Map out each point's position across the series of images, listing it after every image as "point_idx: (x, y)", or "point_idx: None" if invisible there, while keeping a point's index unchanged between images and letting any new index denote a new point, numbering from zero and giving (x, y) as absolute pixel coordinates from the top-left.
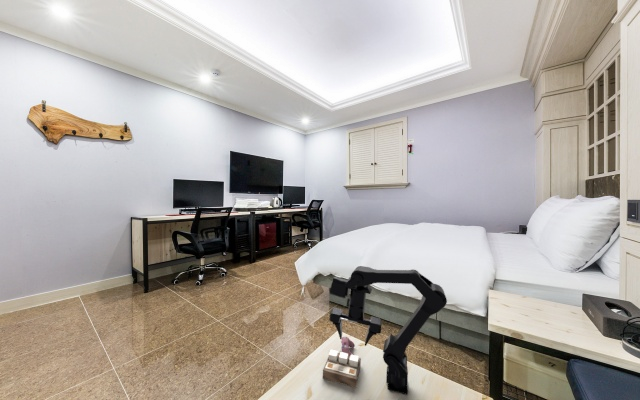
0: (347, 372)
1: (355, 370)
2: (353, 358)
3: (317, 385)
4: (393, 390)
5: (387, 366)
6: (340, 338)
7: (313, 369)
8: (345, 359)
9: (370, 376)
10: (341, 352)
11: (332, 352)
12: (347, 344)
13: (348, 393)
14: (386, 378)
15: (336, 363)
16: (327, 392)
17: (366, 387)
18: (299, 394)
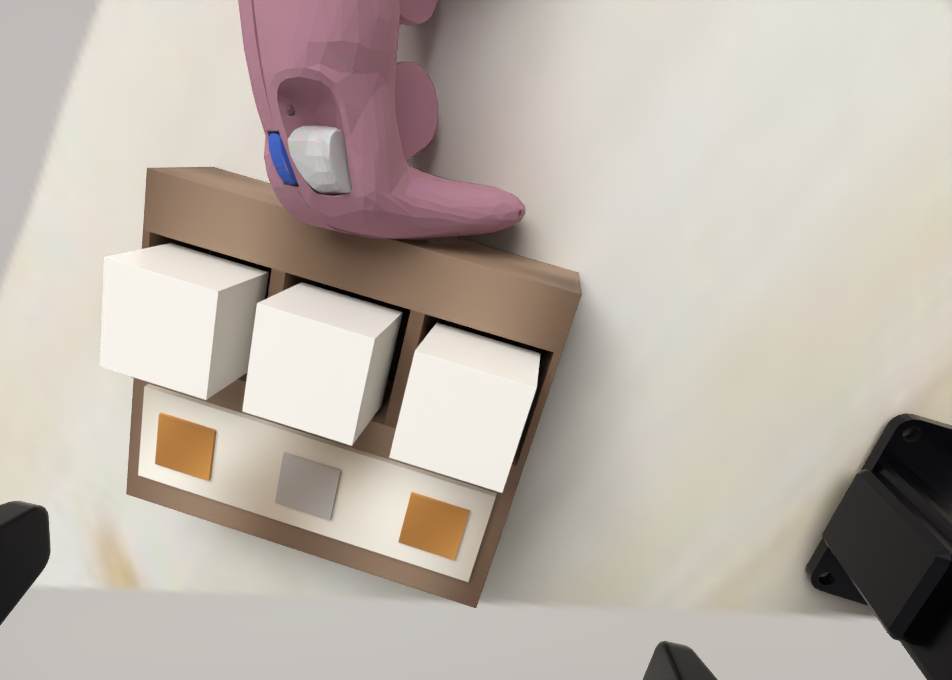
0: (383, 539)
1: (477, 514)
2: (449, 433)
3: (159, 518)
4: (858, 599)
5: (949, 566)
6: (11, 582)
7: (77, 349)
8: (338, 433)
9: (665, 421)
10: (269, 315)
11: (141, 321)
12: (356, 109)
13: (417, 592)
14: (842, 565)
15: None
16: (249, 578)
17: (588, 543)
18: (56, 586)
